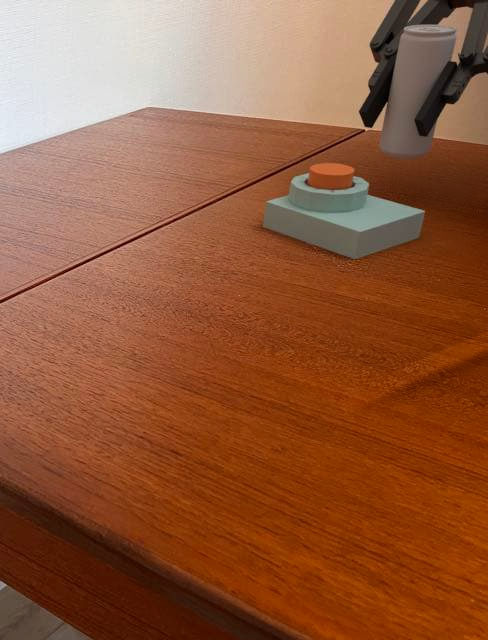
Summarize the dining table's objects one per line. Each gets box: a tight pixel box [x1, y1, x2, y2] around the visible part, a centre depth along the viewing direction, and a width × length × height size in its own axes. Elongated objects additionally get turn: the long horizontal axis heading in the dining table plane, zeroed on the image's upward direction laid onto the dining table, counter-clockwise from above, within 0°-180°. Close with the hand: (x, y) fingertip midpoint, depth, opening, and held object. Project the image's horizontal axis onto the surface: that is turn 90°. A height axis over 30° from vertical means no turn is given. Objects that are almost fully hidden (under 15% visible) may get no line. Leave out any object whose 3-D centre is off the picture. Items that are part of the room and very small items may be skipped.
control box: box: [262, 172, 426, 260], centre depth 83 cm, size 11×9×4 cm
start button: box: [307, 162, 355, 190], centre depth 83 cm, size 4×4×2 cm
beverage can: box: [378, 24, 458, 160], centre depth 86 cm, size 5×5×12 cm
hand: (392, 123), depth 85 cm, fingers closed on beverage can, 5 cm apart
